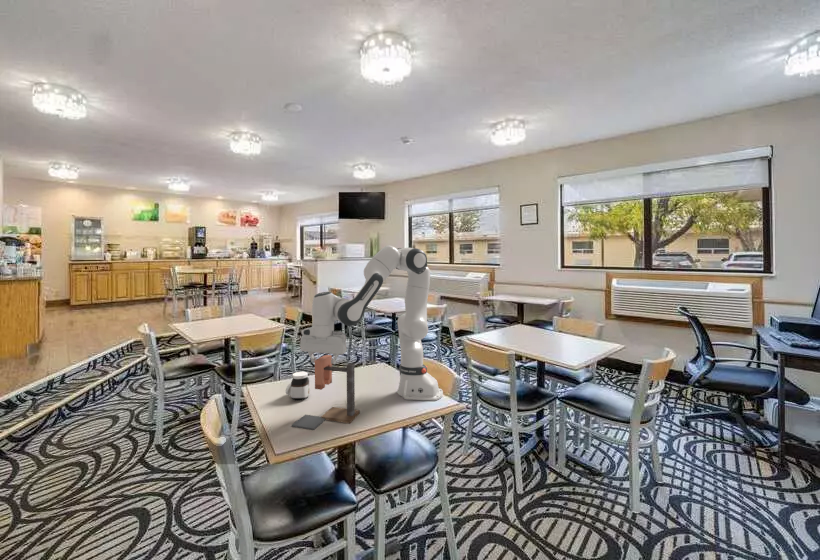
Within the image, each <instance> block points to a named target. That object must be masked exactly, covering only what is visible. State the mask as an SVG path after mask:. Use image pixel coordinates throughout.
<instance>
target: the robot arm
mask: <svg viewBox="0 0 820 560" xmlns="http://www.w3.org/2000/svg"><path fill="white" fill-rule="evenodd" d="M395 269H396V270H399V271H404V272H407V276H408V277H407V278H408V279H407V282H406V289H405V296H404V308H405V309H404V310H405V312H404V313H402V314H400V315H399V316H398V318H397V328H398V339H399V345H400V363H399V382H398V388H397V392H396V394H397V395H399V396H400V397H402V398H403V399H404V400H409V401H413V400H414V401H439V400H440V399H441V398H442V397H443V394H444V391H443V389H442V388H439V383H438V380H437V379H436V378H435V377H434V376H432V375H431V374H430V373H428V365H425V364H424V347H423V344H422V340H423V339H424V338H426V336H427V335H428V333H429V326H428V307H427V306H428V301H429V300H428V299H429V298H428V297H429V293H430V286H431V284H430V283H431V269H430V268H429V266H428V257H427V254H426V252H425V251H423V250H422V249H420V248H417V247H416V248H414V247H399V248H397V247H395V246H393V245H385V246H383V247H382V248H381V249H380V250H379V251H377V252H376V254H374V255H373V256H372V257H371V259H370V260H369V261H368V262H367V263H366V265H365V266H364V269H363V275H364V279H365V282H364V284H363V285H362V287H361V289H359V291H358V293H356V295H355V296H354V297H353V298H351V299H350V300H349V299H345V298H343V297H340V296H337V295H335V294H334V293H333V292H331V291H323V292H319V293H317V294H315V295H314V296H313V299H312V306H311V307H312V309H311V313H312V318H313V319H312V323H311V324H312V326H310V327H307V328H303V329H302V330H301V337H300V341H299V343H300V344H299V347H300V350H301V351H302V352H307V353H308V356H309V358H310V363H315V360H316V359H317V357H316V356H315V355H314V354H315V353H317V354H327V355H332V357H333V358H332V360H331V364H332V365H336V364H337V359H338V357H339V355H340V356H342V355H344V354H346V352H347V342H346V341H347V336H346V335H347V334H345V332H342V331H335V321H336V322H337V321H339V322H340V323H342V324H343V325H344V326H348V327H353V326H356V325H358V324H359V323H360V322H361V321H362V319H363V317H364V314H365V311H366V309H367V307H368V306H369V304H370V303H371V301H372V300H373V299H374V297H375V296H376V294H377V293H378V292H379V290H380V289H381V287H382V285H383V284H384V282H385V281H386V280H387V279H388V277H390V275H391V274H392V273H393V271H394V270H395Z"/></svg>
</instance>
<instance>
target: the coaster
mask: <svg viewBox="0 0 820 560" xmlns="http://www.w3.org/2000/svg"><path fill="white" fill-rule="evenodd" d="M325 421H326V420H325V418H321V416H319V415H311V414H304V415H303V416H302V417H300V418H299V419H298V420H296V421H295V422H294V423H292V424H291V427H292V428H299V429H306V430H312V431H315V429H317V428H318V427H319V426H321V424H323V422H325Z"/></svg>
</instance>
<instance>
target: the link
mask: <svg viewBox="0 0 820 560" xmlns="http://www.w3.org/2000/svg"><path fill="white" fill-rule="evenodd" d="M332 359H333V354H325V355H324V354H323V356H320V357H318V358H316V360H315V362H314V390H319V391H320V390H323V389H325V388H326V385H328V386H329V385H330V384H332V383H333V371H331V370H324V368H325V367H326V366H330V367H333V364H331V360H332Z"/></svg>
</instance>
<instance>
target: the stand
mask: <svg viewBox="0 0 820 560" xmlns="http://www.w3.org/2000/svg"><path fill="white" fill-rule="evenodd" d="M324 370H331V371H332V372H343V373H346V407H345V408H344V407H335V406H332V407H331V408H329V409H328V410H327V411H325V413H324V414H322V415H321V416H320V417H321V418H325V421H331V422H337V423H344V424H351V423H352V422H353V421H354V420H355V419H356V418H357V417H358V416H359V415H360V414H361V410H360V409H355V408H356V407H355V405H356V404H355V400H356V399H355V391H356V390H355V388H356V387H355V383H356V382H355V364H354V363H348V364H346V367H340V366H339V367H337V366H332V367H330V366H326V367H325V368H324Z"/></svg>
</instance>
